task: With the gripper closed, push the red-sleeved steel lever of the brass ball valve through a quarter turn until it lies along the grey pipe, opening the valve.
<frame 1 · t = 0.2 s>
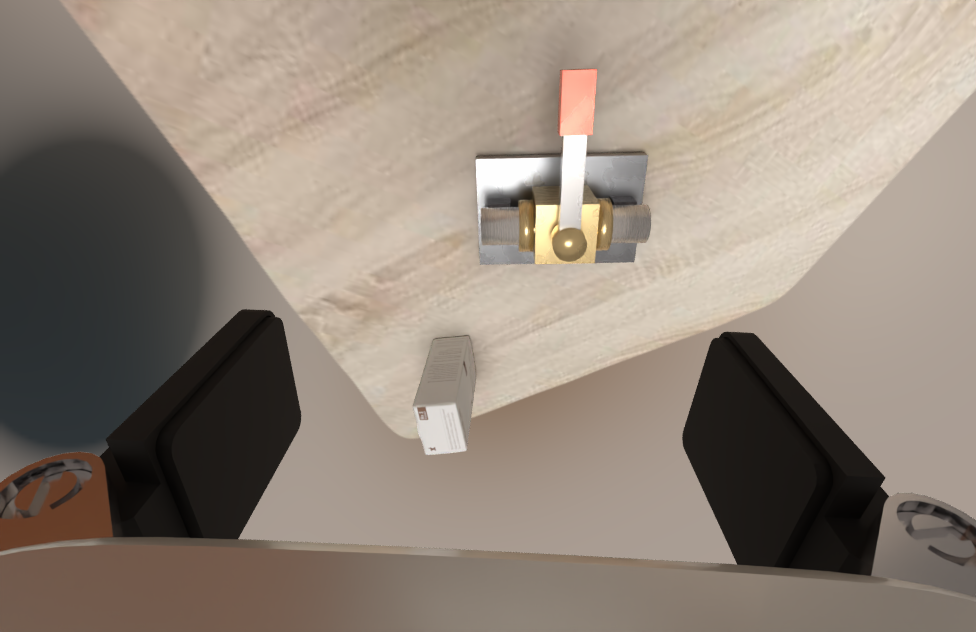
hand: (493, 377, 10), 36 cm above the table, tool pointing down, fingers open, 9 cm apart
valve lever: (572, 171, 35), point 9 cm above the table, hinge at 0.0°
valve manifold: (557, 208, 45), on the table
skincare box: (453, 356, 54), on the table
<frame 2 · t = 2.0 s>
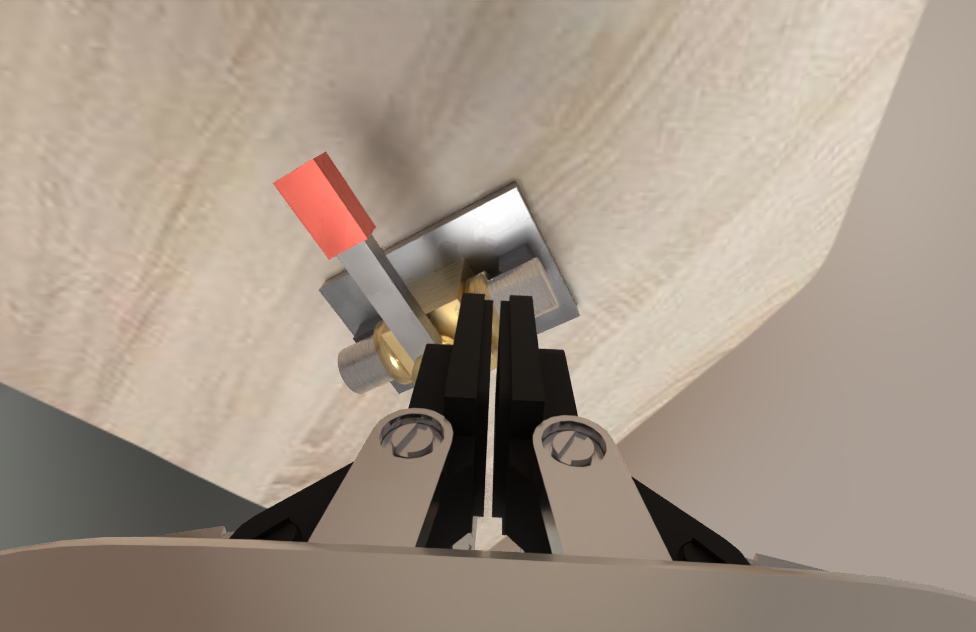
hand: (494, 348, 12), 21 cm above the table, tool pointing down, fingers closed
valve lever: (383, 287, 24), point 9 cm above the table, hinge at 0.0°
valve manifold: (452, 293, 34), on the table
skincare box: (441, 486, 44), on the table
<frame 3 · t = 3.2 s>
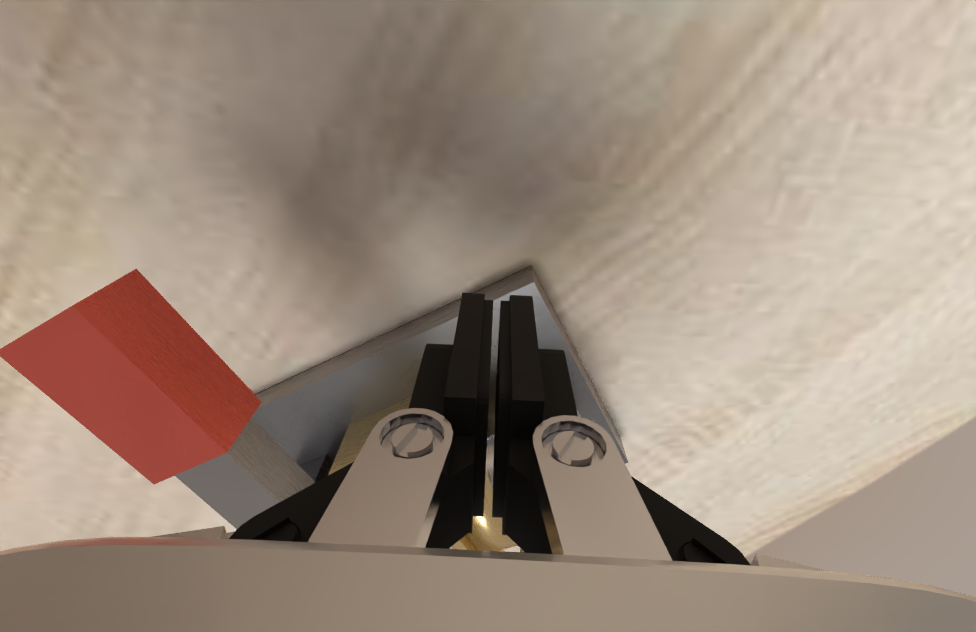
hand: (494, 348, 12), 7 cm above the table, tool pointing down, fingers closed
valve lever: (281, 511, 12), point 9 cm above the table, hinge at 0.0°
valve manifold: (432, 420, 22), on the table
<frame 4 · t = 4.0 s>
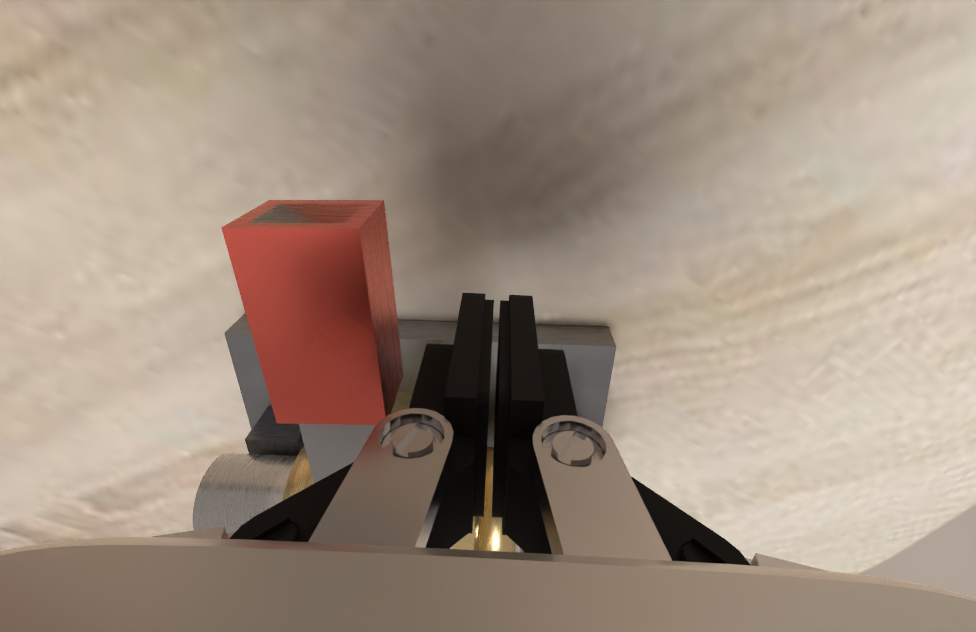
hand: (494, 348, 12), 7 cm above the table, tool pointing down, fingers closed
valve lever: (360, 487, 11), point 9 cm above the table, hinge at 1.6°, touching gripper
valve manifold: (429, 416, 22), on the table
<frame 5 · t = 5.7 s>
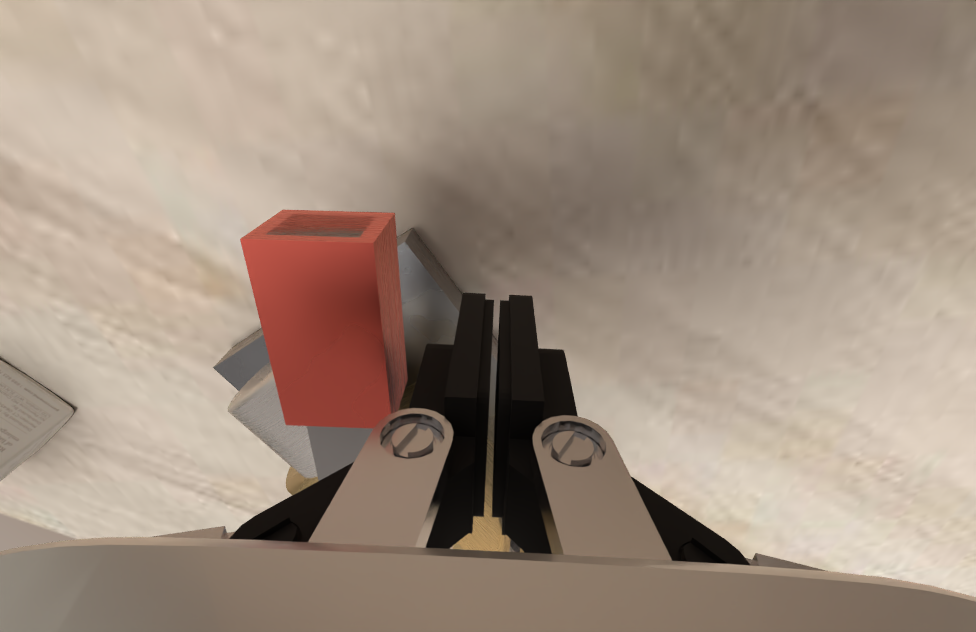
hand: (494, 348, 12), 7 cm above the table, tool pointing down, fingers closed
valve lever: (363, 486, 12), point 9 cm above the table, hinge at 55.6°, touching gripper
valve manifold: (426, 414, 22), on the table
skincare box: (12, 405, 23), on the table
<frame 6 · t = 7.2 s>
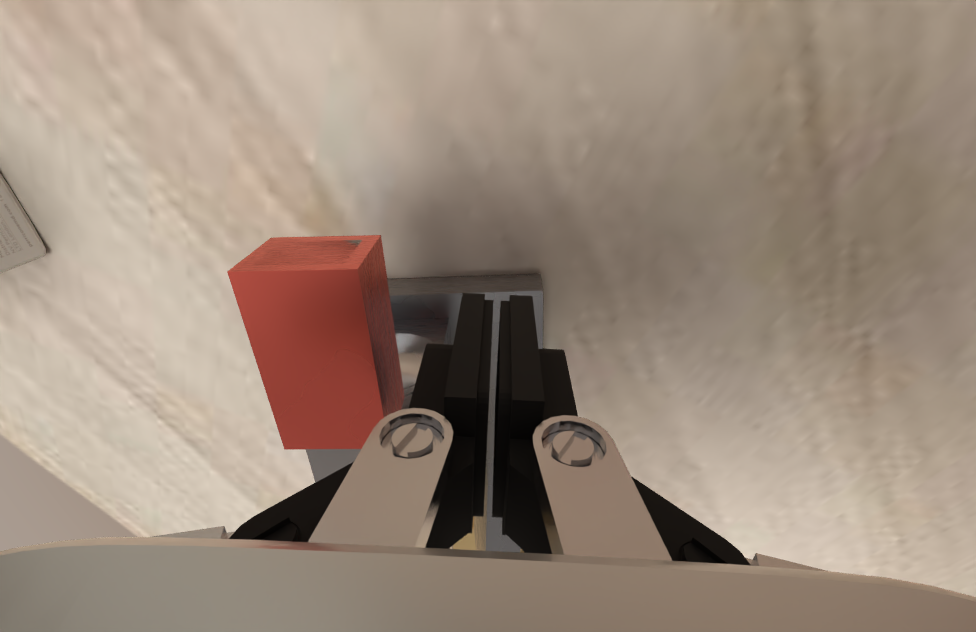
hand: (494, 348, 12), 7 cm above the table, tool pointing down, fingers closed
valve lever: (366, 504, 12), point 9 cm above the table, hinge at 89.0°, touching gripper
valve manifold: (432, 424, 22), on the table
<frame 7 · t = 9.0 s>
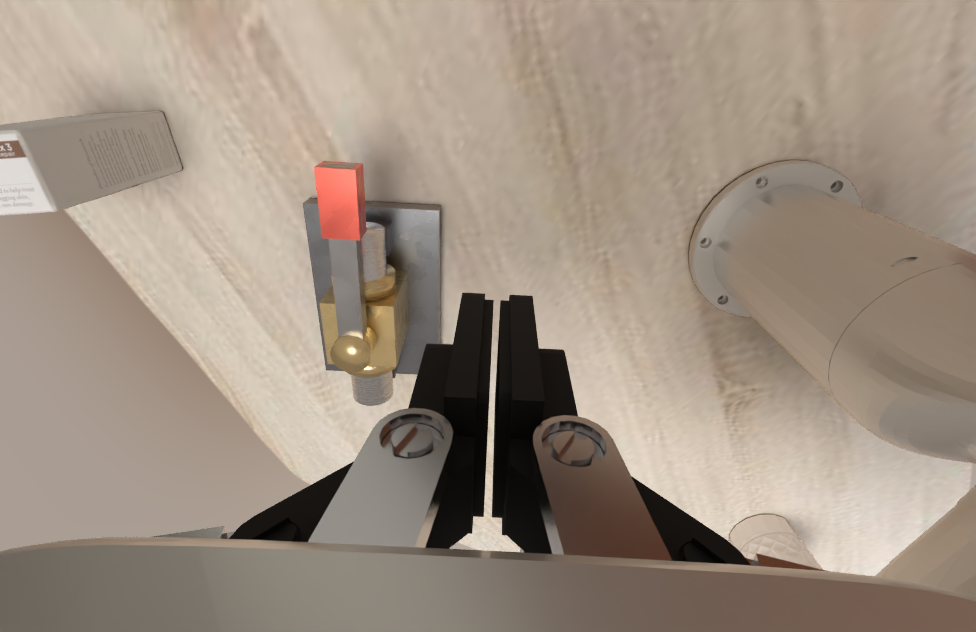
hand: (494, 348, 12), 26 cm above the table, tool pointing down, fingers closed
white cup: (757, 531, 55), on the table
valve lever: (348, 275, 29), point 9 cm above the table, hinge at 89.1°
valve manifold: (381, 289, 40), on the table
skincare box: (138, 140, 34), on the table
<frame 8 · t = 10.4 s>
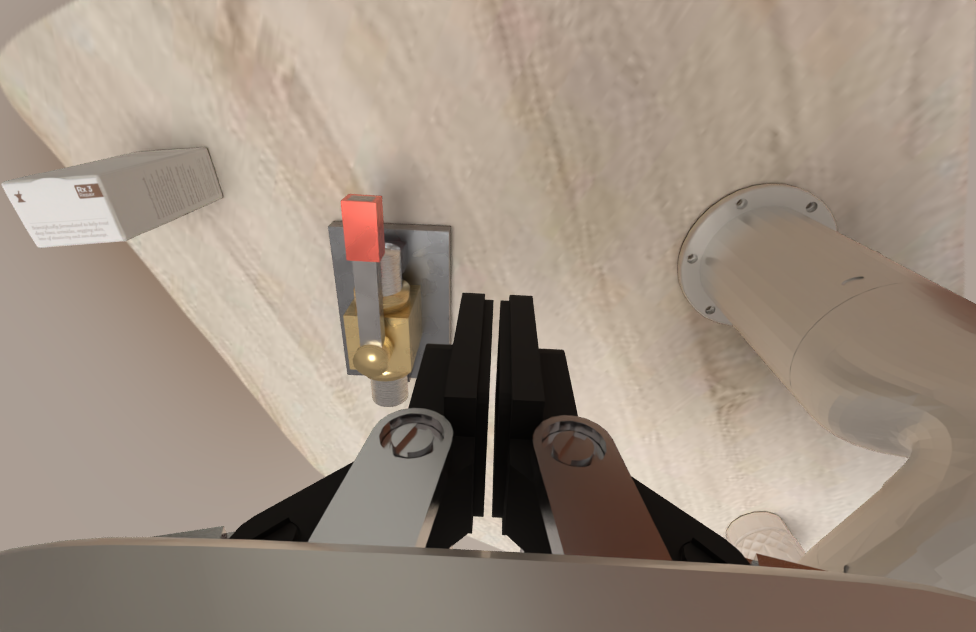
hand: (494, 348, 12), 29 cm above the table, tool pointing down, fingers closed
white cup: (753, 528, 58), on the table
valve lever: (368, 291, 33), point 9 cm above the table, hinge at 89.1°
valve manifold: (397, 301, 44), on the table
skincare box: (184, 172, 39), on the table
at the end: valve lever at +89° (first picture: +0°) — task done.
